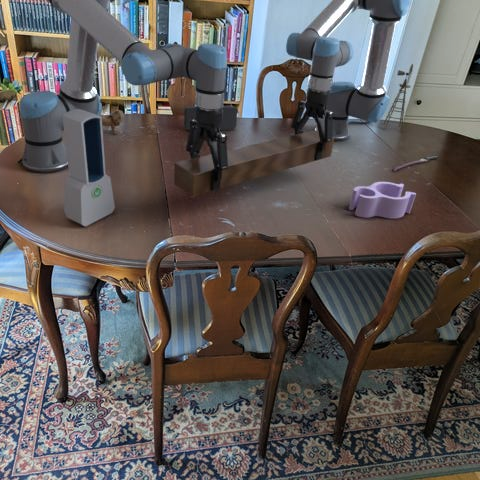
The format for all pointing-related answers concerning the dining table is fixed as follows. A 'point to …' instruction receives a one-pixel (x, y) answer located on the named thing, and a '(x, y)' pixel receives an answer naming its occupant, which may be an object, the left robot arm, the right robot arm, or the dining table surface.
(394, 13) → the right robot arm
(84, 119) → the electronic device
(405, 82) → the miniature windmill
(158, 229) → the dining table surface
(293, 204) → the dining table surface
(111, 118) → the lion figurine
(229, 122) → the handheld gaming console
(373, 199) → the clip
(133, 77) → the left robot arm
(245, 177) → the wide beam
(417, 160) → the sword
